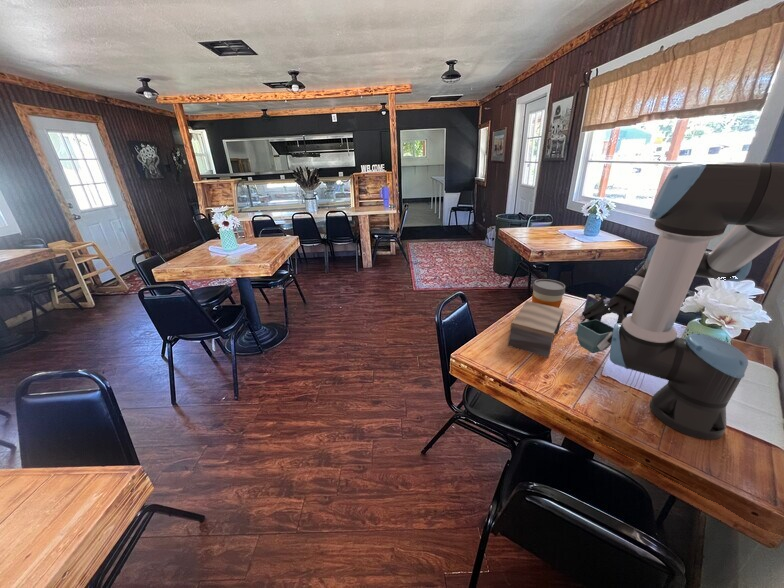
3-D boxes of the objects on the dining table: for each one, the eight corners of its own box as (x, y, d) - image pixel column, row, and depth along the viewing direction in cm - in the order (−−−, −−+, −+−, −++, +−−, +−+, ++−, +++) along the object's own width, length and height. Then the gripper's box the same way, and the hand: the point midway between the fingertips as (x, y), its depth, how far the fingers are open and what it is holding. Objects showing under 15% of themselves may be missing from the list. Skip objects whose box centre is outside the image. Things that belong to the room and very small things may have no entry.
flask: (581, 312, 142) (587, 290, 138) (587, 311, 142) (593, 290, 138) (597, 322, 134) (603, 299, 129) (603, 321, 134) (609, 298, 130)
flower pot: (590, 340, 116) (596, 318, 112) (612, 353, 108) (619, 330, 105) (571, 344, 113) (577, 322, 110) (593, 358, 106) (599, 335, 102)
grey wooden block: (548, 357, 111) (553, 333, 107) (508, 345, 119) (511, 322, 114) (558, 330, 128) (563, 308, 123) (523, 321, 135) (526, 300, 131)
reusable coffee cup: (541, 306, 148) (547, 277, 141) (565, 318, 137) (572, 286, 131) (522, 312, 143) (527, 282, 137) (545, 324, 132) (551, 292, 126)
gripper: (672, 311, 99) (620, 363, 101) (609, 287, 118) (566, 331, 119) (665, 298, 95) (612, 353, 97) (602, 275, 114) (558, 321, 116)
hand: (587, 341), depth 108 cm, fingers closed on flower pot, 9 cm apart
